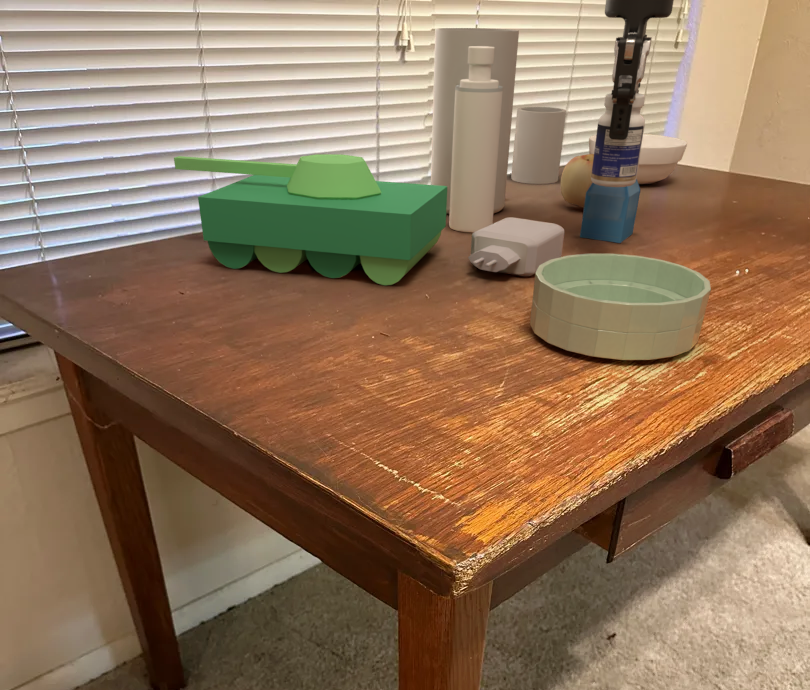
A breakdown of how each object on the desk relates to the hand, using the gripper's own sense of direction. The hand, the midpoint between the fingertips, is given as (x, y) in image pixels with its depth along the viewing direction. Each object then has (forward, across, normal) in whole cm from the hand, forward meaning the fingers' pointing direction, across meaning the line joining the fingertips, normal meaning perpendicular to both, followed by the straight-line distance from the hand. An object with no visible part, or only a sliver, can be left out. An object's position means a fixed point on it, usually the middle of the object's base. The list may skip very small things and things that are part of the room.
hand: (619, 134), depth 94 cm
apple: (+15, +31, +6) cm, 35 cm away
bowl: (+15, +58, -1) cm, 60 cm away
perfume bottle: (+15, +14, 0) cm, 20 cm away
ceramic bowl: (+15, -28, -4) cm, 32 cm away
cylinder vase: (+15, +24, +24) cm, 37 cm away
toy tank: (+15, -12, +39) cm, 43 cm away
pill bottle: (+6, 0, 0) cm, 6 cm away
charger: (+15, -9, +12) cm, 21 cm away
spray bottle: (+15, +11, +21) cm, 28 cm away
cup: (+15, +53, +18) cm, 58 cm away
